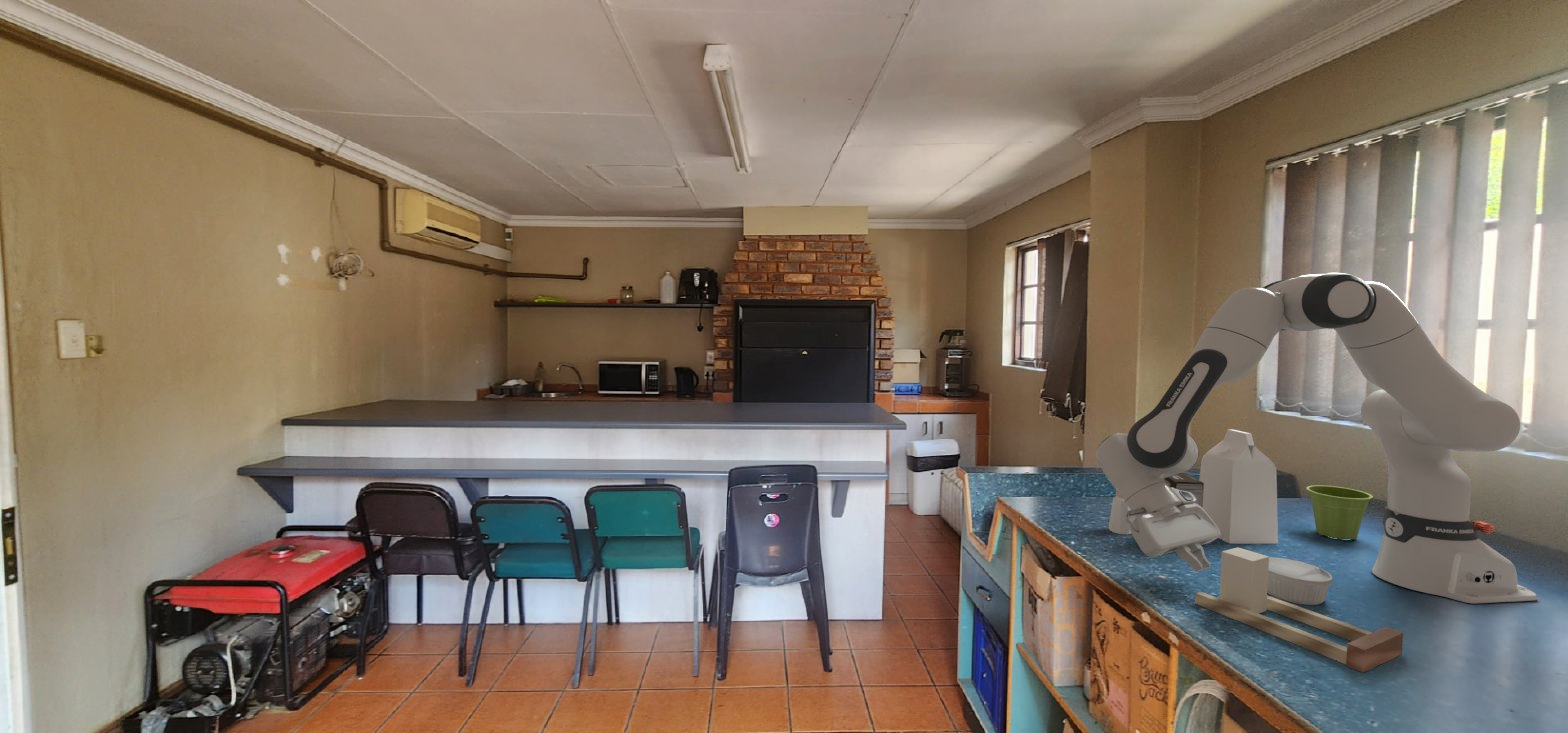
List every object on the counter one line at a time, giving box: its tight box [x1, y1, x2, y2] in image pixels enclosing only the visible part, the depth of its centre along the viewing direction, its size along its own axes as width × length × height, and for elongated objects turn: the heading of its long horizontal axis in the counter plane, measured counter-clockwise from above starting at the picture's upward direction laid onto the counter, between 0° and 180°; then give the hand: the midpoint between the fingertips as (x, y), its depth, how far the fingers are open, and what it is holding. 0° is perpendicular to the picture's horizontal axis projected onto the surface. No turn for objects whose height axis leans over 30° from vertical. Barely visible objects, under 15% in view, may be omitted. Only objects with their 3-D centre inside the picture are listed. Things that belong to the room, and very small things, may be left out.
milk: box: [1198, 428, 1279, 545], centre depth 144 cm, size 12×12×26 cm
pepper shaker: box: [1108, 488, 1132, 535], centre depth 147 cm, size 5×5×11 cm
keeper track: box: [1194, 591, 1404, 674], centre depth 100 cm, size 24×12×4 cm, turn 24°
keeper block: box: [1219, 546, 1270, 614], centre depth 106 cm, size 5×5×10 cm
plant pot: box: [1305, 484, 1374, 540], centre depth 143 cm, size 12×12×11 cm
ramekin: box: [1267, 556, 1334, 606], centre depth 112 cm, size 11×11×5 cm
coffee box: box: [1164, 472, 1204, 508], centre depth 139 cm, size 9×6×16 cm
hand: (1203, 569), depth 112 cm, fingers closed
